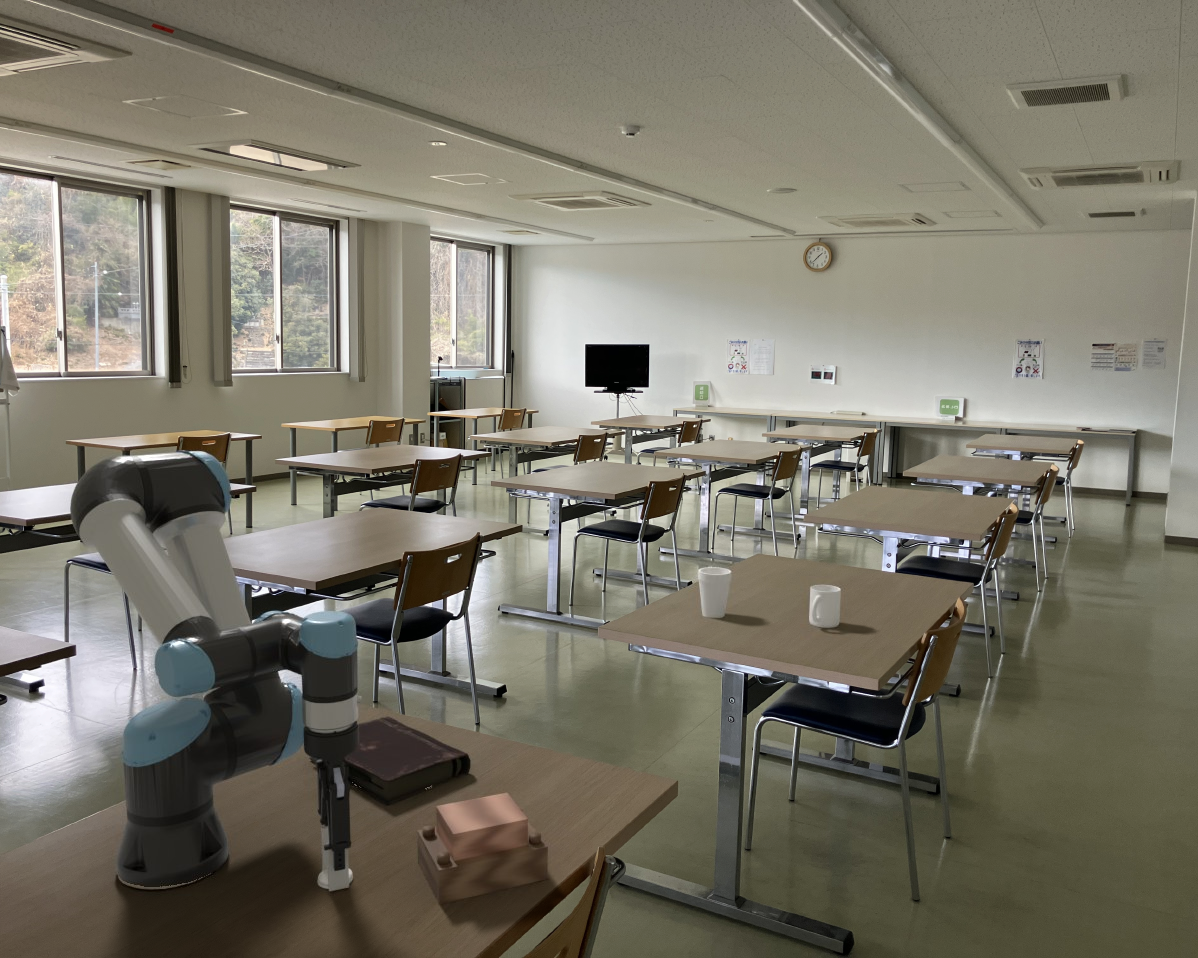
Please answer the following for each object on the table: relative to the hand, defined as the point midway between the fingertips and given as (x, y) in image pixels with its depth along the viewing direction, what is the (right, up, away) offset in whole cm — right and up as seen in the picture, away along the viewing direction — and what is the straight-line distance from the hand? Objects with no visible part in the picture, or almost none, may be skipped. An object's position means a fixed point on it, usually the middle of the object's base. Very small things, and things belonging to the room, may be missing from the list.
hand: (335, 877), depth 138 cm
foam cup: (+71, +18, +139) cm, 157 cm away
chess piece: (0, 0, 0) cm, 1 cm away
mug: (+100, +16, +130) cm, 165 cm away
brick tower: (+21, 0, +3) cm, 21 cm away
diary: (-1, +4, +37) cm, 37 cm away
